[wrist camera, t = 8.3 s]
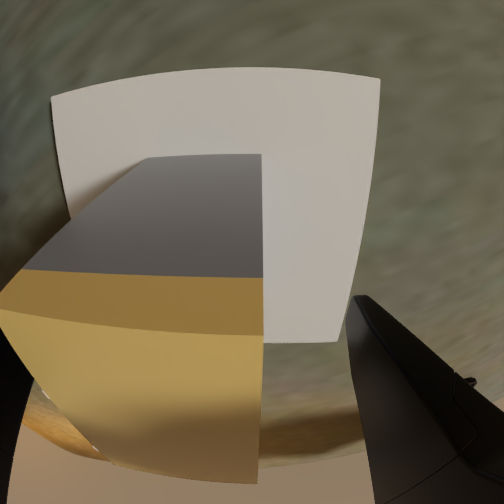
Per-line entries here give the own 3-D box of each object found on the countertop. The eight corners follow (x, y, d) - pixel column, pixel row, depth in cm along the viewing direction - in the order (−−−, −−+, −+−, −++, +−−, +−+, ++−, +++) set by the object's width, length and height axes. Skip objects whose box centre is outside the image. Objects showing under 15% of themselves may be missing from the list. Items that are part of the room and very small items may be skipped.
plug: (261, 153, 10) (263, 335, 3) (259, 295, 13) (257, 484, 6) (147, 157, 10) (-12, 306, 3) (168, 293, 13) (113, 464, 6)
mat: (374, 79, 9) (380, 78, 8) (334, 333, 15) (337, 341, 14) (59, 95, 9) (50, 97, 8) (112, 325, 15) (108, 332, 15)
